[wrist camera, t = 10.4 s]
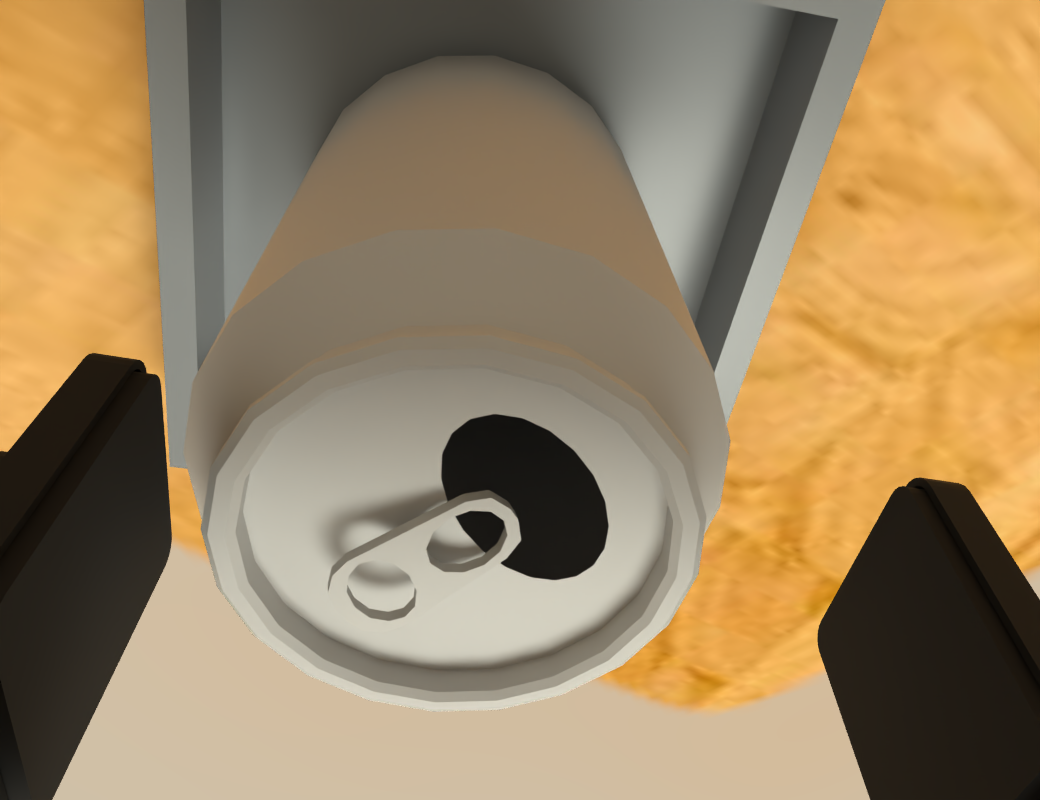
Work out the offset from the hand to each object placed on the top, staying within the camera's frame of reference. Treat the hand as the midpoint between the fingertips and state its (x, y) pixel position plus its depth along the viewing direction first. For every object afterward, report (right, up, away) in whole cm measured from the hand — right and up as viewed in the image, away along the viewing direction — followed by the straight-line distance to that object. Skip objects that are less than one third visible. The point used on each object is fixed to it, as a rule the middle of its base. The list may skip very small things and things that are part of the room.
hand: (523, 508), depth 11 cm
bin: (-1, +6, +10) cm, 12 cm away
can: (-1, +6, +10) cm, 11 cm away
